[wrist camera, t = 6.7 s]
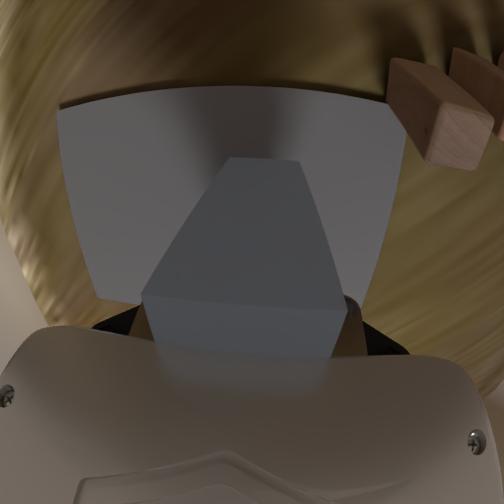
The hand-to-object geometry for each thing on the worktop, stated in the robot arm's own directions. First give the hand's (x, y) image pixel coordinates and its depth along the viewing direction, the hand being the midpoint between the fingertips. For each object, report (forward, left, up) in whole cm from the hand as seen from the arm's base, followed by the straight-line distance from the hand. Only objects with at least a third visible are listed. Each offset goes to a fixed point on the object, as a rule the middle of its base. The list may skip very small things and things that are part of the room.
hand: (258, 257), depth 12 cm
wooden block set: (-10, +15, -6) cm, 19 cm away
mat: (+1, -3, -5) cm, 6 cm away
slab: (0, 0, -2) cm, 2 cm away
